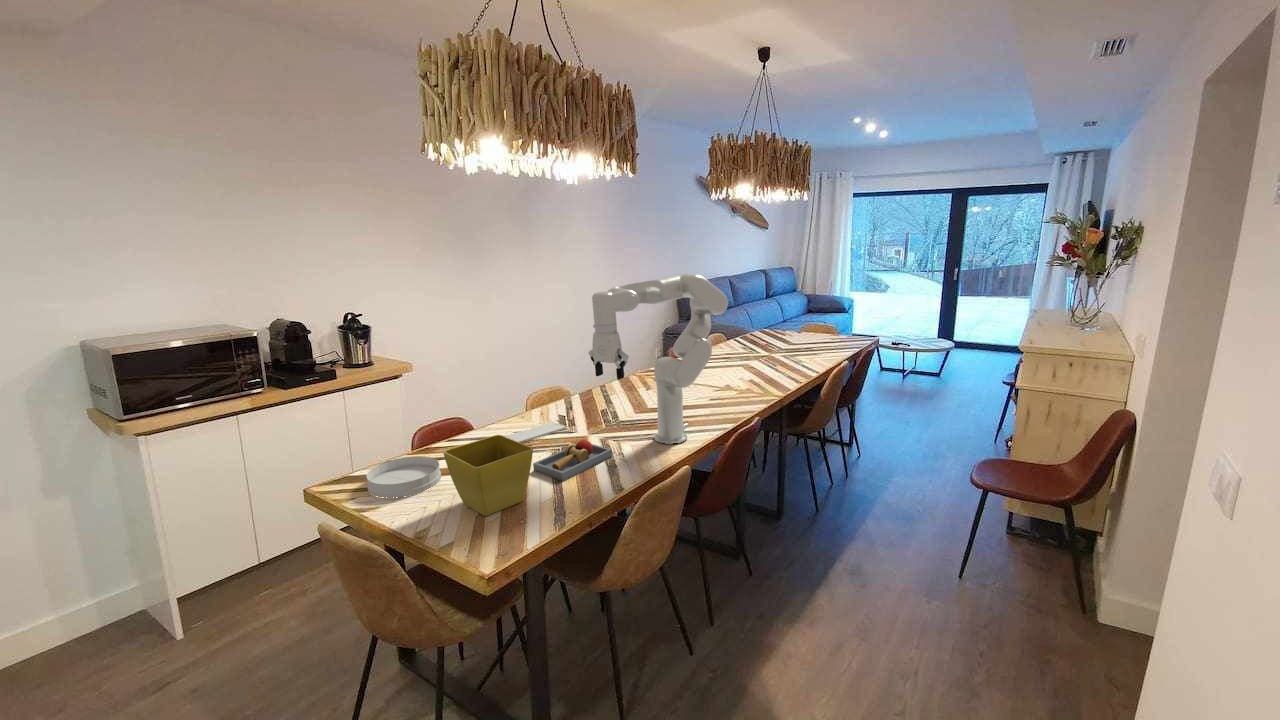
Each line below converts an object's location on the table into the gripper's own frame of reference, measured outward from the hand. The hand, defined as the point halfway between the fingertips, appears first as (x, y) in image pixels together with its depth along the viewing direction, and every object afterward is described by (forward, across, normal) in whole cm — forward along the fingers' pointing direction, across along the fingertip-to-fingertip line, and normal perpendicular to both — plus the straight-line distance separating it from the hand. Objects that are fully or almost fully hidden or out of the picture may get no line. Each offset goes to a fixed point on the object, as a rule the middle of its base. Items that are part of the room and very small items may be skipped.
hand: (610, 377), depth 193 cm
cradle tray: (+28, -6, -16) cm, 32 cm away
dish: (+26, -41, -58) cm, 75 cm away
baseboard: (+28, -42, -6) cm, 51 cm away
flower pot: (+26, -6, -50) cm, 57 cm away
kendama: (+27, -5, -16) cm, 32 cm away
